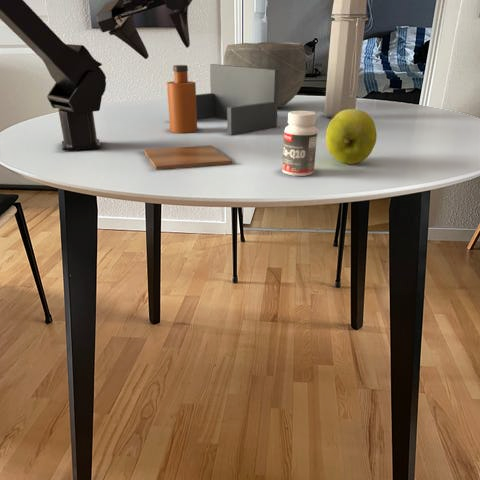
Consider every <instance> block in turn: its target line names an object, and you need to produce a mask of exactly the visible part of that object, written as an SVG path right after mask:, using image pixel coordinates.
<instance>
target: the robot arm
mask: <svg viewBox="0 0 480 480" xmlns="http://www.w3.org/2000/svg"><path fill="white" fill-rule="evenodd" d="M192 2H193V0H111V1H108V2H106V3H105V4H104V5H103V6H102V7H101V9H100V10H99V11H98V12H97V13H96V17H95V19H96V24H97V26H98V28H99V29H100V32H101V33H106V32H108V34H109V35H110V36H115V37H116V38H118V39H119V40H120V41H122V42H123V43H125V44H126V45H127V46H129V47H130V48H131V49H133V50H134V51H135V52H136V53H137V54H139V55H140V56H141V57H142V58H144V59H145V60H147V59H148V58H149V55H150V54H149V52H148V50H147V48H146V45H145V43H144V42H143V39H142V38H141V36H140V33H139V31H138V30H137V28H136V26H135V25H136V24H135V19H134V16H135V15H136V14H139V13H142V12H146V11H149V10H152V9H155V8H158V7H162V6H164V5H165V6H166V8H167V9H168V10H170V11H169V13H168V16H169V19H170V21H171V23H172V24H173V26H174V28H175V30H176V32H177V35H178V36H179V38H180V41H181V42H182V44H183V45H184V46H185V48H187V49H188V48H189V47H190V46H191V41H190V30H189V20H188V19H189V18H188V17H189V15H188V13H189V11H188V10H189V6H190V5H191V3H192ZM0 20H1V21H2V22H3V23H4V24H5V26H7V27H8V28H9V29H10V30H11V31H12V32H13V33H14V35H16V36H17V37H18V38H19V39H20V40H21V41H22V42H23V43H24V44H26V46H28V48H29V49H31V51H33V52H34V53H35V54H36V55H37V56H38V57H39V58H40V59H41V60H42V62H43V63H44V65H45V67H46V69H47V71H48V73H49V75H50V77H51V78H52V79H53V81H54V85H53V86H52V88H51V89H50V91H49V92H48V94H46V95H47V96H46V98H47V100H48V102H49V104H50V106H51V108H52V109H57V110H58V116H59V121H60V127H61V133H62V139H63V140H61V148H62V149H61V150H62V151H77V150H94V149H101V148H102V144H101V142H100V138H98V137H97V130H96V124H95V116H94V112H99V111H100V110H101V105H102V99H103V96H104V94H105V92H106V87H107V80H106V79H107V77H106V73H105V72H104V71H103V70H102V68H101V67H102V66H103V64H102V63H101V62H100V61H98V60H96V59H95V58H94V56H93V55H92V54H91V53H90V52H89V49H87V48H86V46H85V45H83V44H69V43H65V42H64V41H63V40H62V39H61V38H60V37H59V36H58V35H57V34H56V32H54V31H53V30H52V29H51V28H50V27H49V25H48V24H47V23H45V21H44V20H43V19H42V18H41V17H40V16H39V15H38V14H37V13H36V12H35V11H34V9H32V7H30V5H29V4H28V3H26V1H25V0H0Z"/></svg>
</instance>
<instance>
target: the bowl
mask: <svg viewBox="0 0 480 480" xmlns="http://www.w3.org/2000/svg"><path fill="white" fill-rule="evenodd" d="M223 65H230V66H242V67H253V68H265V69H276V70H279V84H278V107H282V106H283V107H284V106H285V105H287V104H288V103H290V102H291V101H292V100H293V99H294V98H295V97H296V95H297V94H298V93H299V91H300V89H301V88H302V87H303V84H304V81H305V78H306V72H307V55H306V50H305V46H304V45H303V44H302V43H300V42H290V41H266V42H263V41H262V42H257V43H256V42H253V43H252V42H244V43H243V42H241V43H234V44H227V45H226V47H225V51H224V55H223Z"/></svg>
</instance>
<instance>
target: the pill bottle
mask: <svg viewBox="0 0 480 480" xmlns="http://www.w3.org/2000/svg"><path fill="white" fill-rule="evenodd" d="M287 124H288V125H287V126H285V128H284V133H283V150H282V151H283V152H282V173H283V174H285V175H289V176H293V177H306V176H310V175H312V174H314V172H315V164H316V154H317V153H316V151H317V143H318V142H317V140H318V128H317V127H316V126H315V125H316V124H317V112H315V111H311V110H293V111H289V112H288V114H287Z"/></svg>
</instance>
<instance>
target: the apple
mask: <svg viewBox="0 0 480 480" xmlns="http://www.w3.org/2000/svg"><path fill="white" fill-rule="evenodd" d="M377 135H378V134H377V127H376V124H375V122H374V120H373V118H372V116H371V115H369V113H367V112H365V111H364V110H360V109H356V108H355V109H347V110H343V111H341V112H339V113H338V114H337V115H336V116H335V117H334V118H331V120H330V121H329V123H328V125H327V128H326V131H325V145H326V149H327V151H328V152H329V153H328V154H330V155H331V156H332V157H333V158H334V159H335V160H337V161H338V162H340V163H342V164H346V165H355V164H358V163H360V162H362V161H363V160H365V159H367V158H368V157H369V156H370V155H371V153H372V151H373V150H374V148H375V146H376V143H377V138H378V136H377Z"/></svg>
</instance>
